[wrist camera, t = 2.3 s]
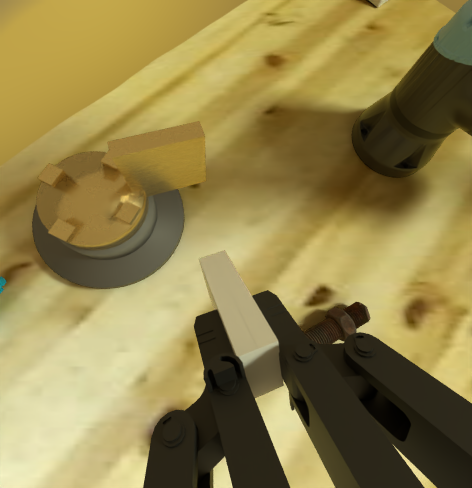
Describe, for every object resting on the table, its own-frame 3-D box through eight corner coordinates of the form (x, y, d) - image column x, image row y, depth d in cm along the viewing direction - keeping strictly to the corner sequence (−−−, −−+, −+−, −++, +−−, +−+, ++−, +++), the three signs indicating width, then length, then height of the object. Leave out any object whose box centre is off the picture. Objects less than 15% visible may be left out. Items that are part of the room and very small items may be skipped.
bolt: (352, 315, 43) (275, 361, 40) (346, 289, 42) (265, 335, 38) (382, 333, 38) (296, 388, 34) (377, 304, 36) (286, 358, 33)
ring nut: (60, 263, 34) (-5, 240, 24) (42, 176, 37) (-22, 122, 27) (217, 216, 38) (221, 179, 28) (190, 141, 41) (184, 82, 30)
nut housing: (123, 135, 46) (113, 113, 41) (212, 221, 43) (212, 209, 38) (7, 216, 40) (-20, 202, 35) (101, 320, 38) (86, 321, 33)
